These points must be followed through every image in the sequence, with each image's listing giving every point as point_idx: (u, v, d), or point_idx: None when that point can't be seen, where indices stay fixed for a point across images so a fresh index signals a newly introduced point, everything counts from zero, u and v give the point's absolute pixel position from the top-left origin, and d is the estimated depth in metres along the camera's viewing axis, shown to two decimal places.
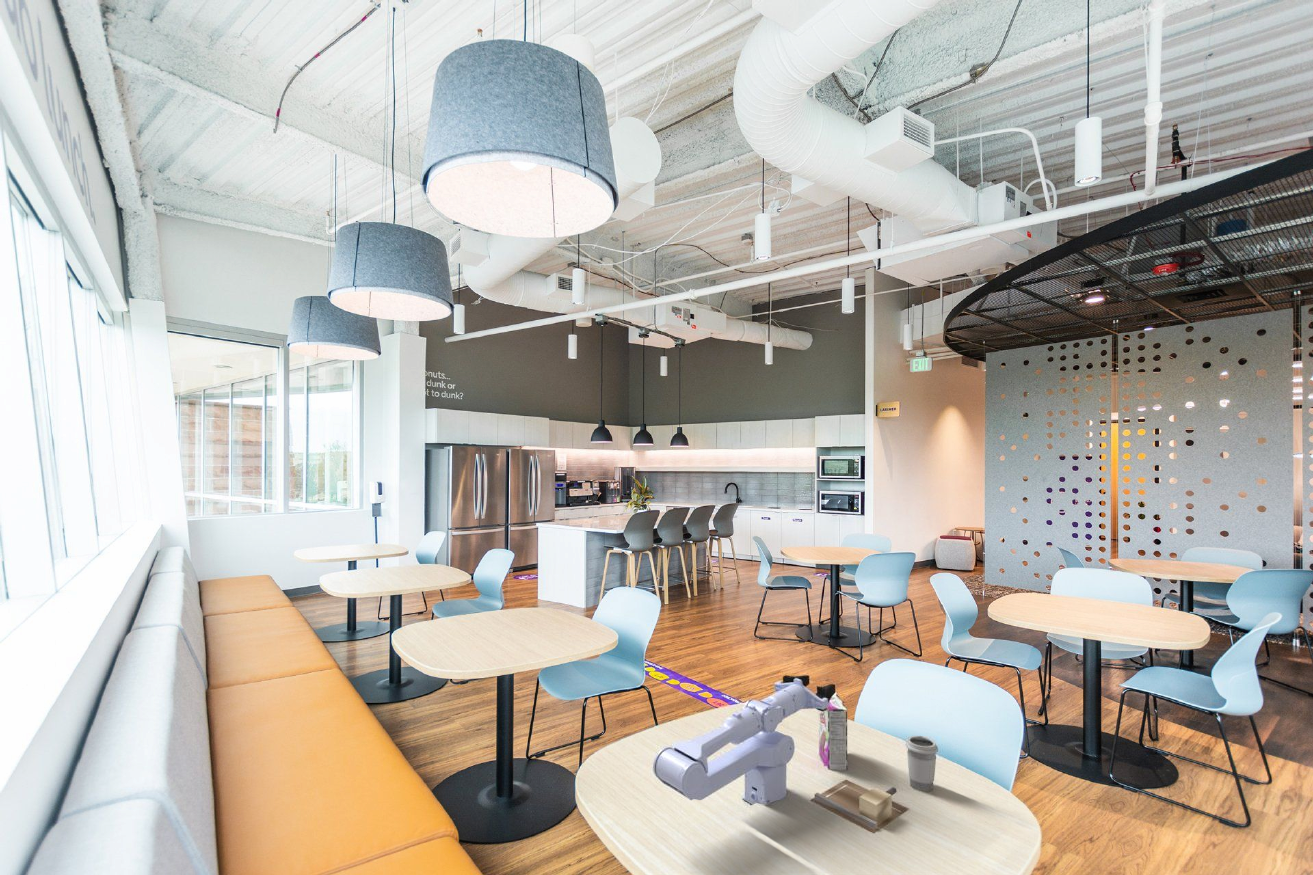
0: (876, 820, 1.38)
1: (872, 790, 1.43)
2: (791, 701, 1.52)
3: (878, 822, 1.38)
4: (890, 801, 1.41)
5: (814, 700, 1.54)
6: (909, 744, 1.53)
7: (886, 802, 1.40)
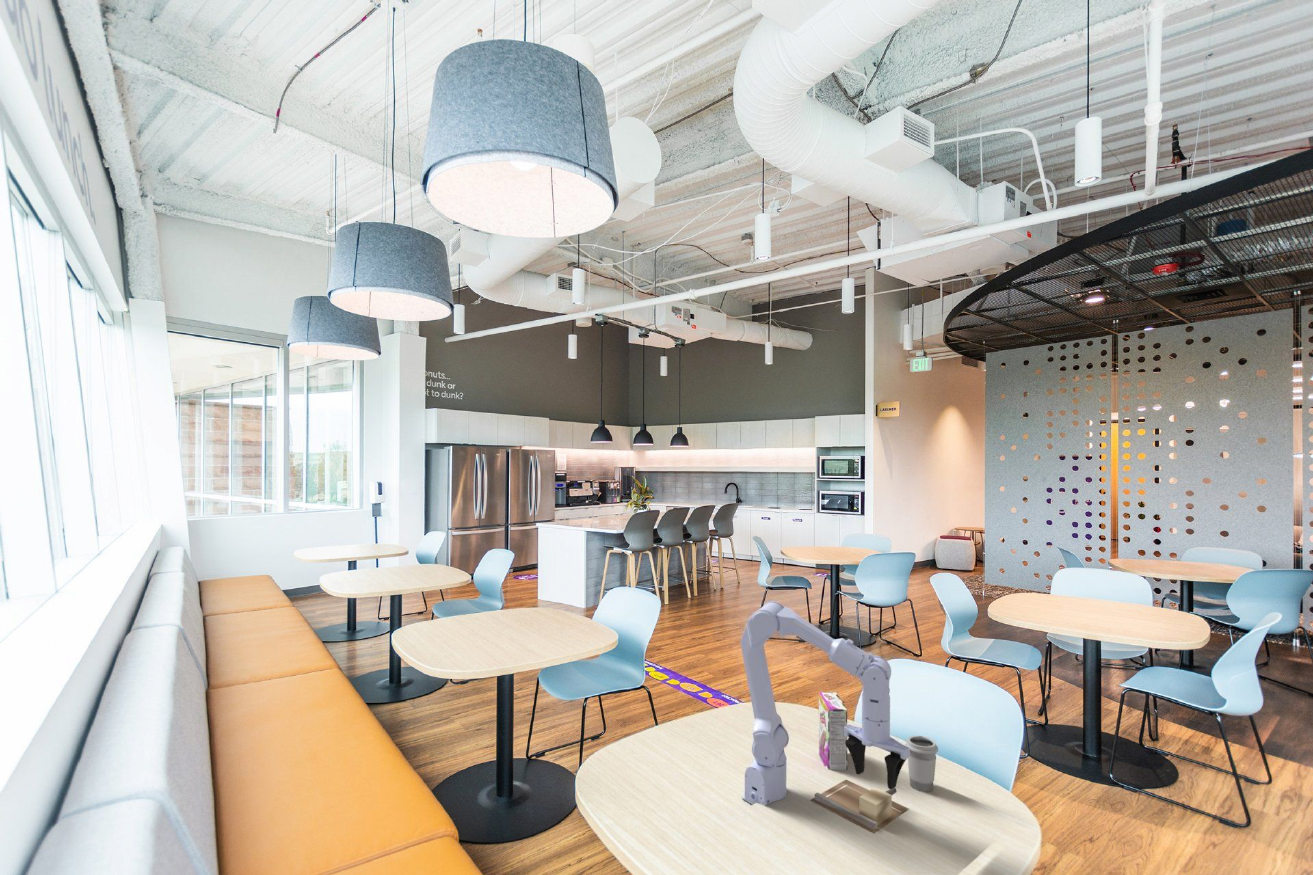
0: (876, 820, 1.38)
1: (872, 790, 1.43)
2: (881, 716, 1.38)
3: (878, 822, 1.38)
4: (890, 801, 1.41)
5: (855, 730, 1.45)
6: (909, 744, 1.53)
7: (886, 802, 1.40)
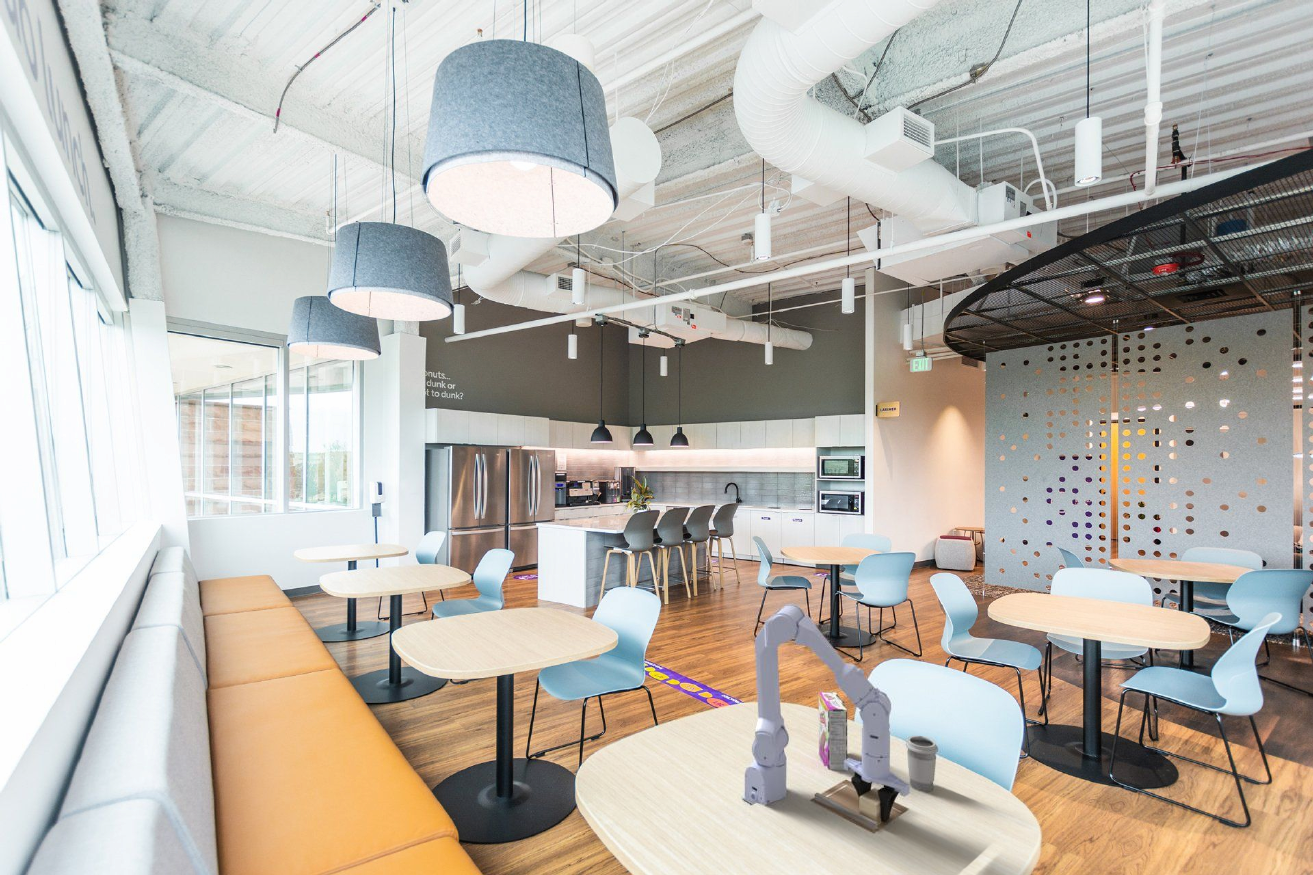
0: (876, 820, 1.38)
1: (872, 790, 1.43)
2: (880, 752, 1.38)
3: (878, 822, 1.38)
4: None
5: (855, 764, 1.45)
6: (909, 744, 1.53)
7: None
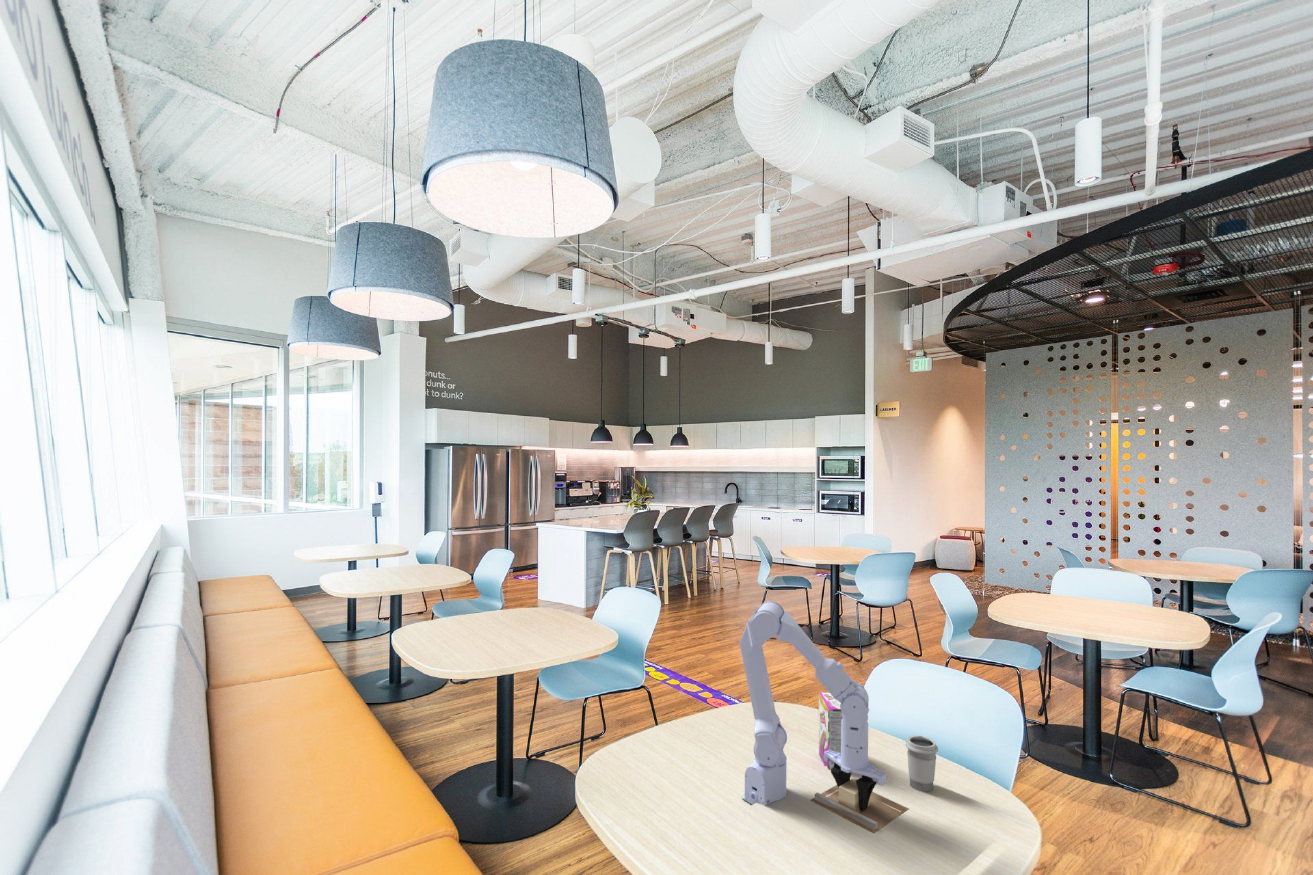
0: (854, 809, 1.42)
1: (851, 780, 1.47)
2: (860, 743, 1.42)
3: (856, 811, 1.42)
4: None
5: (835, 755, 1.49)
6: (909, 744, 1.53)
7: None
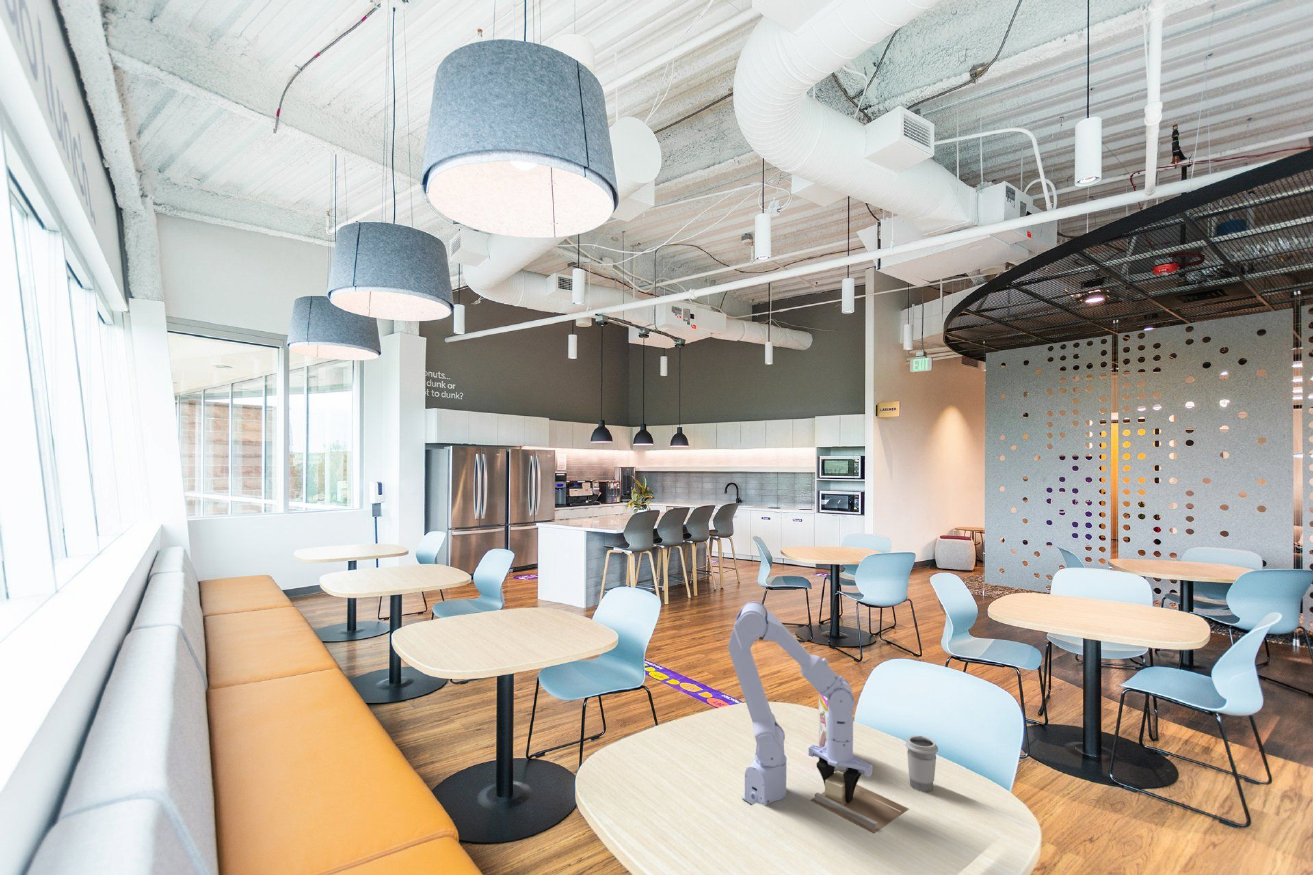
0: (842, 801, 1.45)
1: (835, 773, 1.50)
2: (846, 737, 1.45)
3: (843, 803, 1.45)
4: None
5: (819, 750, 1.51)
6: (909, 744, 1.53)
7: None
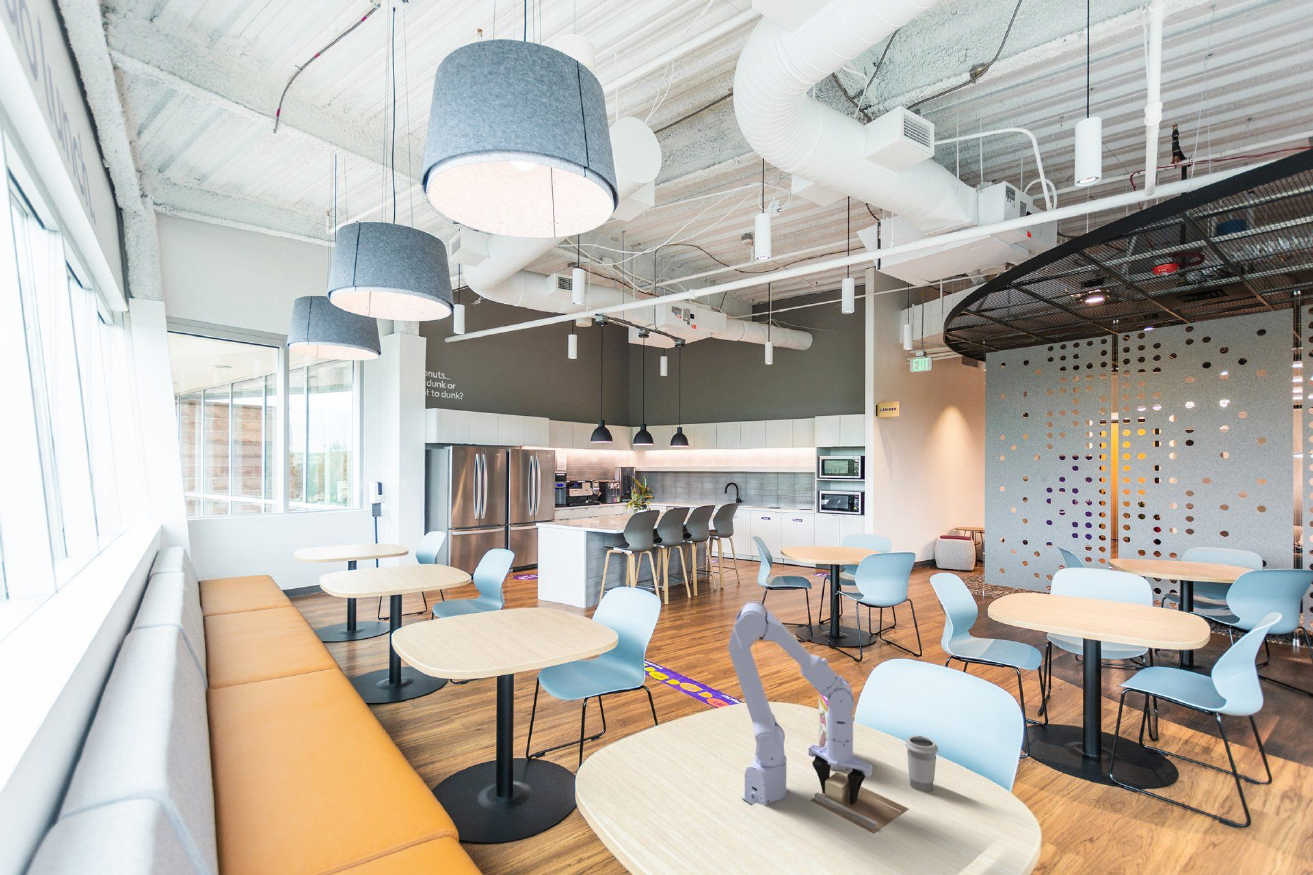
0: (841, 802, 1.45)
1: (835, 774, 1.50)
2: (846, 737, 1.45)
3: (843, 804, 1.45)
4: None
5: (819, 750, 1.51)
6: (909, 744, 1.53)
7: None
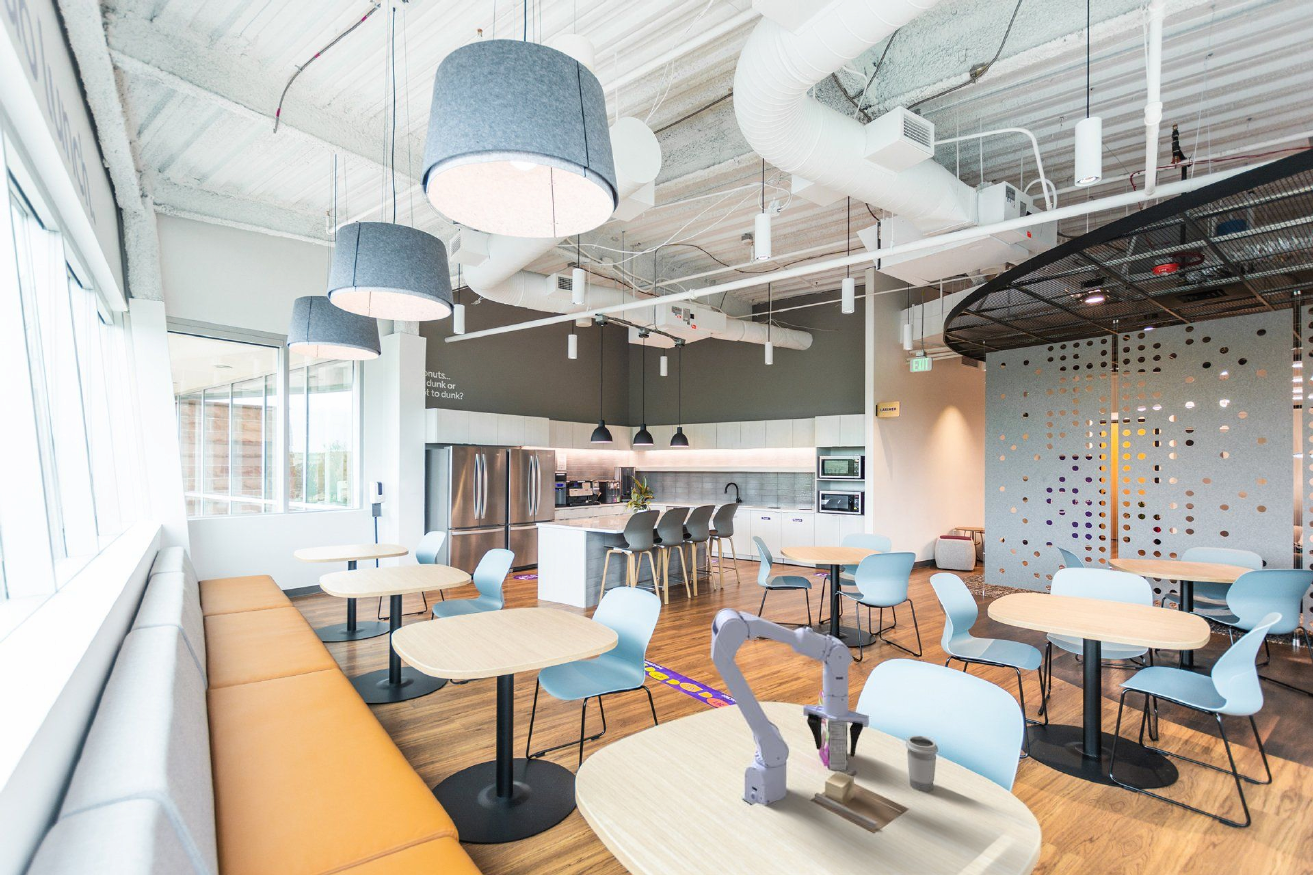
0: (841, 802, 1.45)
1: (835, 774, 1.50)
2: (844, 691, 1.50)
3: (843, 804, 1.45)
4: (853, 783, 1.49)
5: (814, 708, 1.54)
6: (909, 744, 1.53)
7: (850, 784, 1.48)
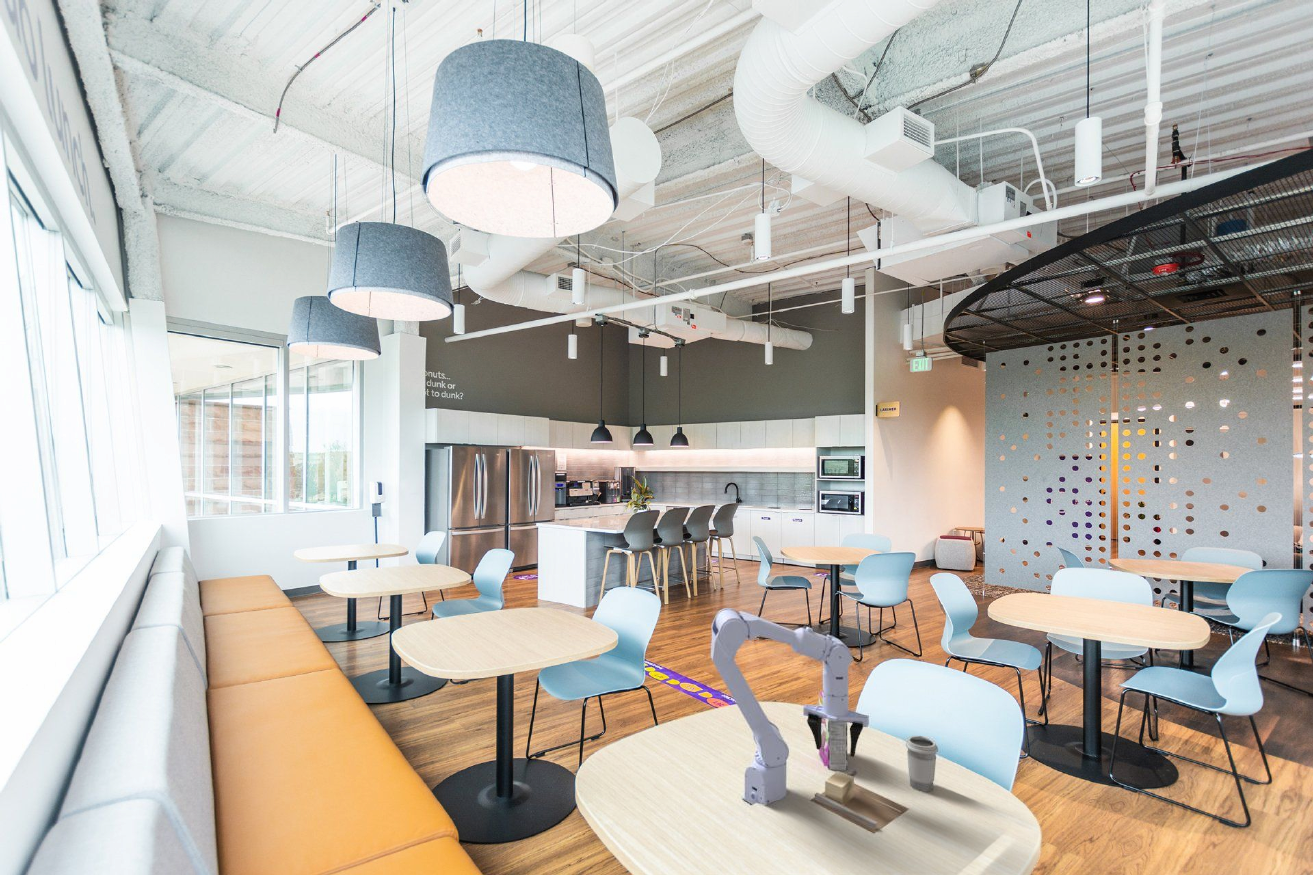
0: (841, 802, 1.45)
1: (835, 774, 1.50)
2: (844, 691, 1.50)
3: (843, 804, 1.45)
4: (853, 783, 1.49)
5: (814, 708, 1.54)
6: (909, 744, 1.53)
7: (850, 784, 1.48)
